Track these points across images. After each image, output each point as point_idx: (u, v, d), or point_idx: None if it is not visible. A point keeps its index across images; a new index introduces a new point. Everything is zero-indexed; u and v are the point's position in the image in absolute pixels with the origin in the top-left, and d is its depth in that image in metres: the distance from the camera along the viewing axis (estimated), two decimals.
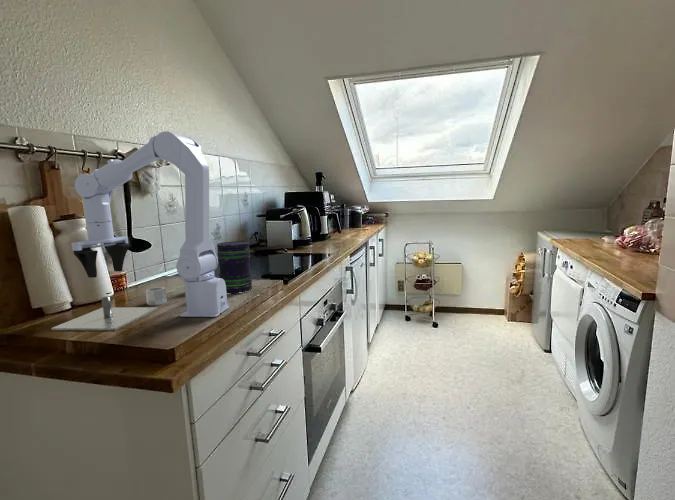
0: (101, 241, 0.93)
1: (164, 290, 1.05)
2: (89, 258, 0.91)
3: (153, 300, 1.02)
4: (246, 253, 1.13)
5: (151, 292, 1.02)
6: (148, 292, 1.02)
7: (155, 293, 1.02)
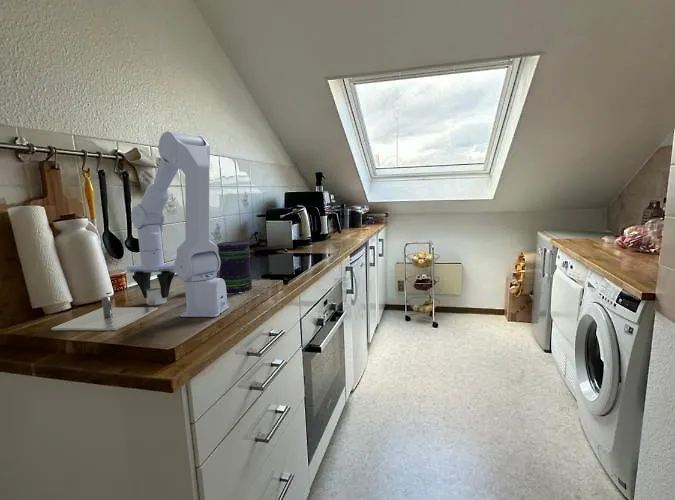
0: (140, 268, 1.01)
1: None
2: None
3: (153, 300, 1.02)
4: (246, 253, 1.13)
5: (151, 292, 1.02)
6: (148, 292, 1.02)
7: (155, 293, 1.02)
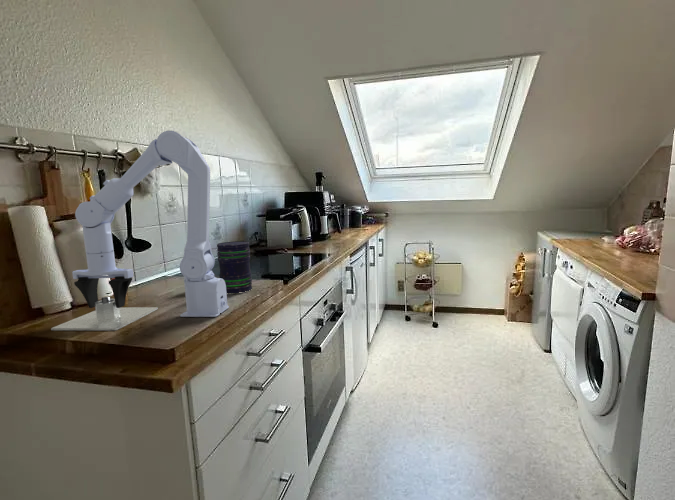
0: (86, 273, 0.88)
1: None
2: None
3: (103, 314, 0.89)
4: (246, 253, 1.13)
5: (100, 305, 0.89)
6: (97, 305, 0.89)
7: (105, 306, 0.89)
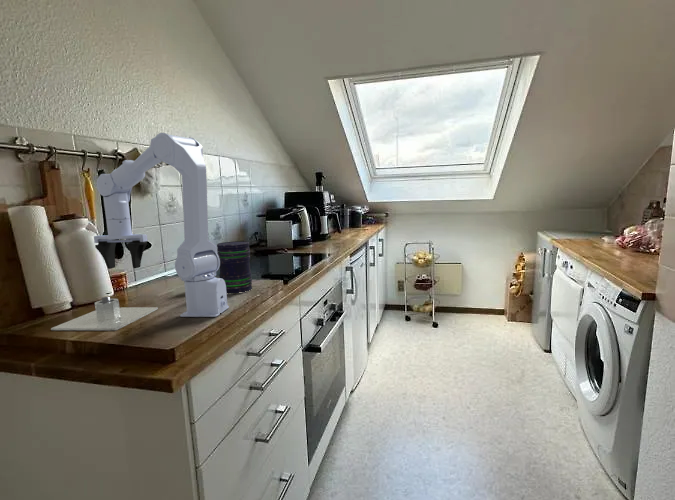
0: (106, 237, 1.00)
1: (117, 302, 0.91)
2: None
3: (103, 314, 0.89)
4: (246, 253, 1.13)
5: (100, 305, 0.89)
6: (97, 305, 0.89)
7: (105, 306, 0.89)
